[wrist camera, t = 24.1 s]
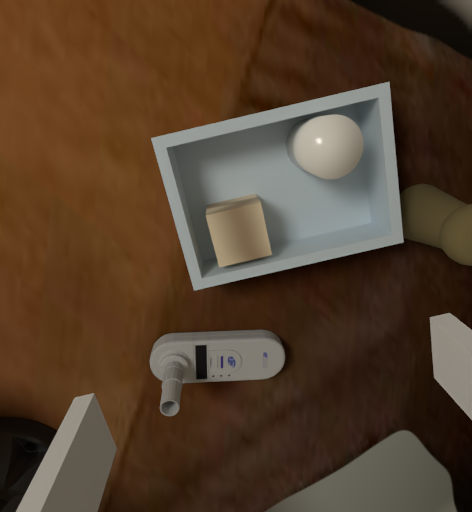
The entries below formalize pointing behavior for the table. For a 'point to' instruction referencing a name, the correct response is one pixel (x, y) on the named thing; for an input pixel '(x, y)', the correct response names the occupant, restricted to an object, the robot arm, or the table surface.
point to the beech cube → (238, 230)
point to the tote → (284, 186)
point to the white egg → (325, 145)
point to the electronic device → (213, 360)
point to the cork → (437, 221)
